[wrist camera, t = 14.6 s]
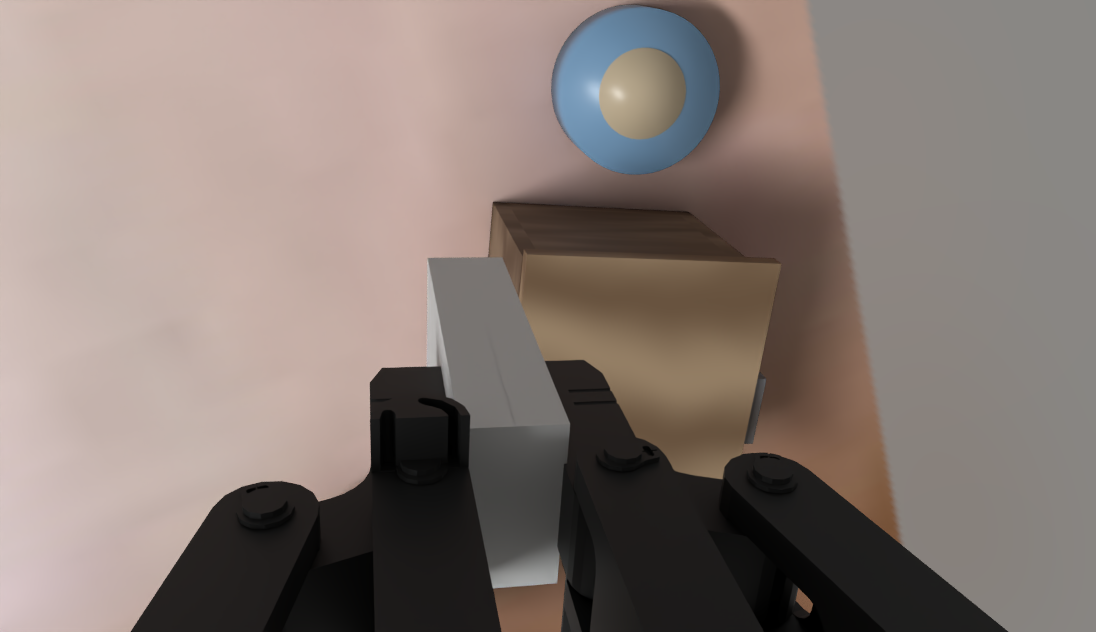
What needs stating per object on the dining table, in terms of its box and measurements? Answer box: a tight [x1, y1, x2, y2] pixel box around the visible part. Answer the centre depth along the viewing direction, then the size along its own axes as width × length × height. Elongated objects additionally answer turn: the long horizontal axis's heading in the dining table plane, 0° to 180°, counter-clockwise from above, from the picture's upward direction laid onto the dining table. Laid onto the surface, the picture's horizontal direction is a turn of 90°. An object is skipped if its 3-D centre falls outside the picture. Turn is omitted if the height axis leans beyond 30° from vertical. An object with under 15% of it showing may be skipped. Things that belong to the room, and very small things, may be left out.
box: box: [488, 202, 745, 297], centre depth 47 cm, size 15×11×9 cm
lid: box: [519, 249, 781, 559], centre depth 43 cm, size 16×13×2 cm
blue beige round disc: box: [551, 5, 720, 174], centre depth 45 cm, size 8×8×3 cm
